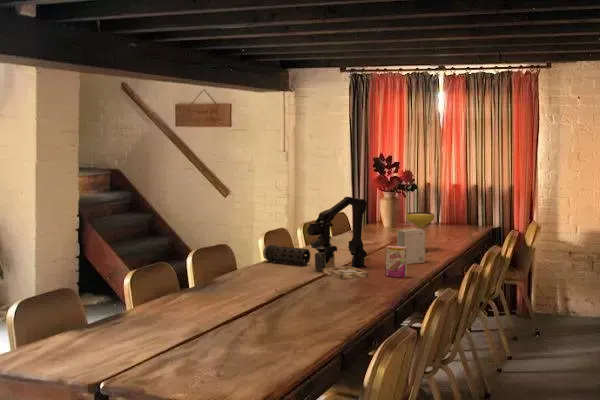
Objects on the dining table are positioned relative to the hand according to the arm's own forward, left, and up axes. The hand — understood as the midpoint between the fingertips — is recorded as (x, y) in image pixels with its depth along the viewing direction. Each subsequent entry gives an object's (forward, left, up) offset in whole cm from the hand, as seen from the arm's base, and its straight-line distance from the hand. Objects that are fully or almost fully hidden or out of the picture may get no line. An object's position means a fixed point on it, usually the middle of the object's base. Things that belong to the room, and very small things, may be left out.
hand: (324, 261), depth 422 cm
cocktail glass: (-91, -37, -5) cm, 98 cm away
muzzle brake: (+11, -28, -5) cm, 31 cm away
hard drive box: (-60, -2, -5) cm, 60 cm away
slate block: (-4, +21, -5) cm, 22 cm away
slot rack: (-4, +17, -5) cm, 18 cm away
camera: (0, +1, -5) cm, 5 cm away
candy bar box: (-27, +32, -5) cm, 42 cm away
